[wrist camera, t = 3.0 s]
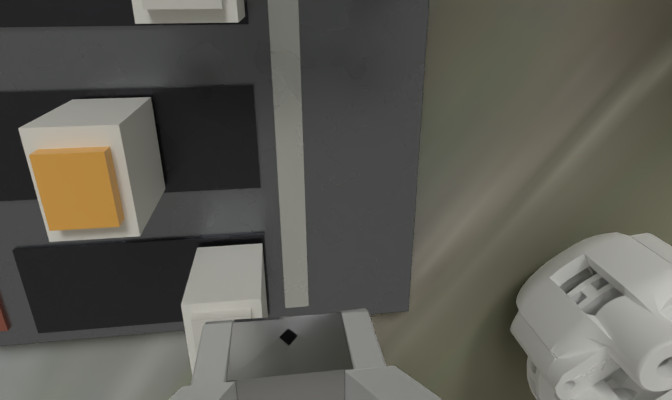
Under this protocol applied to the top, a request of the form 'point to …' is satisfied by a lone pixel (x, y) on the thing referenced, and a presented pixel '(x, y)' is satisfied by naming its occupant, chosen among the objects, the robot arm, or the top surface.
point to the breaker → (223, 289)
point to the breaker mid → (95, 167)
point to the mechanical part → (600, 321)
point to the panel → (221, 157)
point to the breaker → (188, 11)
